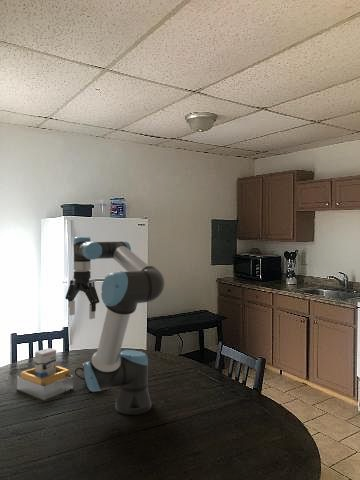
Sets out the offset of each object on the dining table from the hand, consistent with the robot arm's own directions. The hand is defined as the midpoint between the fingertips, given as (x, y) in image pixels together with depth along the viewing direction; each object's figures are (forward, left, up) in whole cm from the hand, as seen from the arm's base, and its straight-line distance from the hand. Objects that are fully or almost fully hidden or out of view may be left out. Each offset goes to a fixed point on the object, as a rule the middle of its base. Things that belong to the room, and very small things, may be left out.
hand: (81, 316), depth 182 cm
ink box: (+16, +8, -28) cm, 33 cm away
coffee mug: (+4, -8, -35) cm, 36 cm away
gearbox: (+18, +8, -35) cm, 40 cm away
